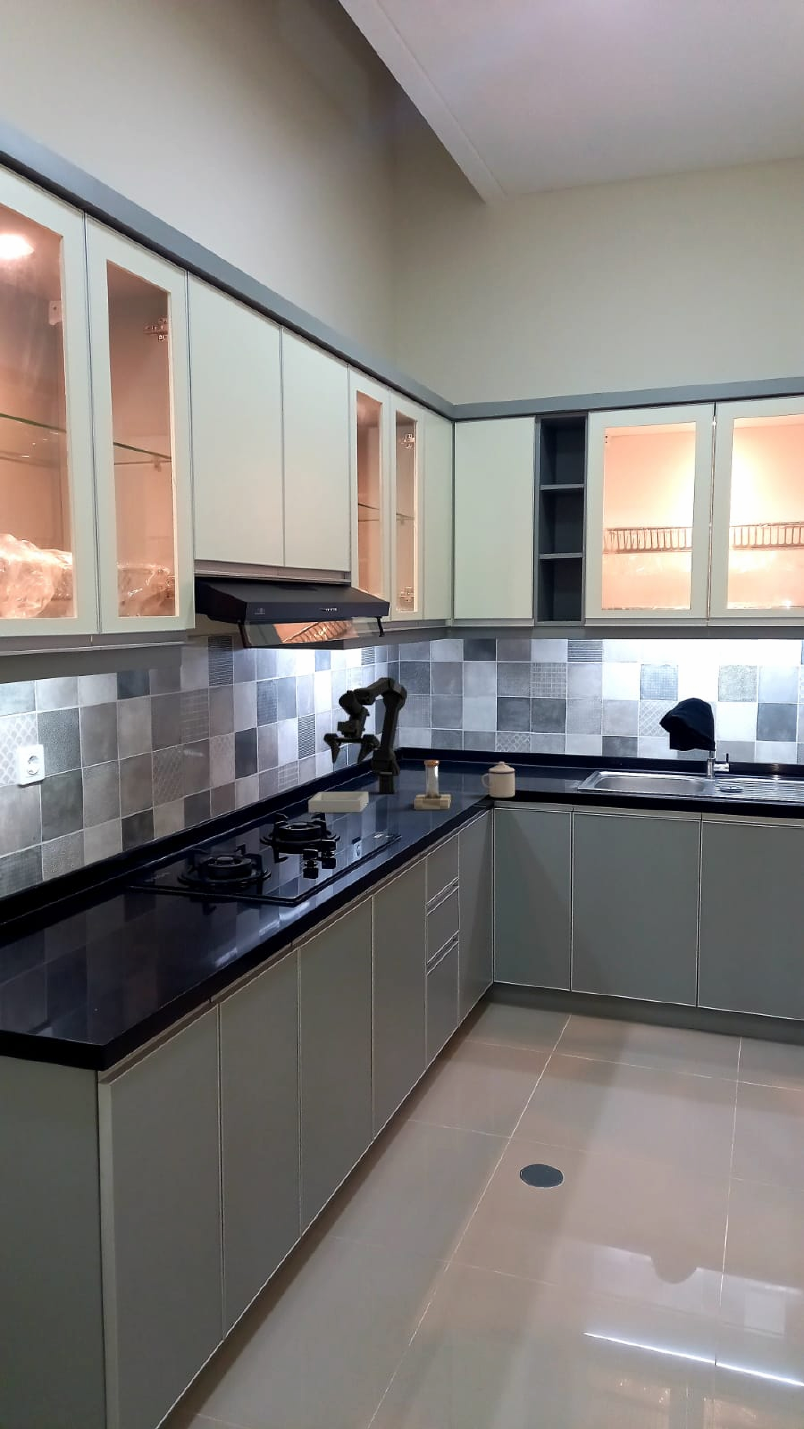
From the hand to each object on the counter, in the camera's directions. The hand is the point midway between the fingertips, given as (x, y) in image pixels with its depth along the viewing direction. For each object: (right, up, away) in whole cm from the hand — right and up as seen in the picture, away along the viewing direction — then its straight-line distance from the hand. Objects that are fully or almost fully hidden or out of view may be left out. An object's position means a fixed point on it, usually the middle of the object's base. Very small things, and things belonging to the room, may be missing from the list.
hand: (345, 763), depth 335 cm
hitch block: (+29, -14, -1) cm, 32 cm away
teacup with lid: (+52, -12, +16) cm, 56 cm away
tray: (-2, -15, +1) cm, 15 cm away
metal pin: (+29, -14, -1) cm, 32 cm away
